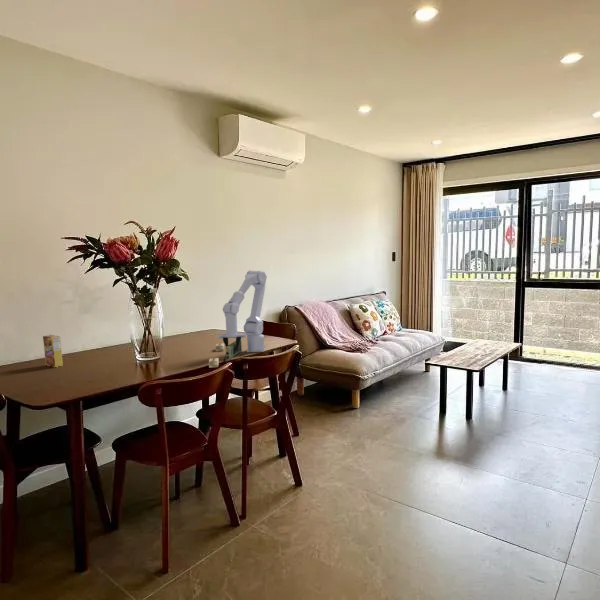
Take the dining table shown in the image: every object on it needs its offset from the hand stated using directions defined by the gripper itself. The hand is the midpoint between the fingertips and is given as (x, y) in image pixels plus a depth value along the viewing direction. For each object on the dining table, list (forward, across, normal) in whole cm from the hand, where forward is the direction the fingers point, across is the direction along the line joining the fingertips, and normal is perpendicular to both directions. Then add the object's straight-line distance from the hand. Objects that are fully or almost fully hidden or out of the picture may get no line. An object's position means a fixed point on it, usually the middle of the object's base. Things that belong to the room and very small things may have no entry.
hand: (232, 351), depth 237 cm
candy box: (+3, -88, -3) cm, 88 cm away
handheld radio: (+3, 0, 0) cm, 3 cm away
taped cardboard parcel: (+3, -8, 0) cm, 8 cm away
